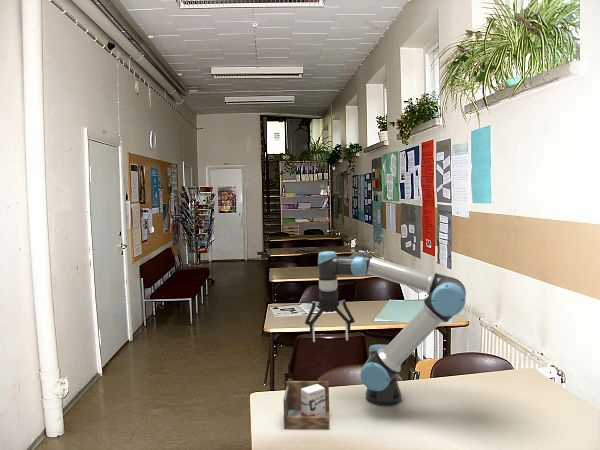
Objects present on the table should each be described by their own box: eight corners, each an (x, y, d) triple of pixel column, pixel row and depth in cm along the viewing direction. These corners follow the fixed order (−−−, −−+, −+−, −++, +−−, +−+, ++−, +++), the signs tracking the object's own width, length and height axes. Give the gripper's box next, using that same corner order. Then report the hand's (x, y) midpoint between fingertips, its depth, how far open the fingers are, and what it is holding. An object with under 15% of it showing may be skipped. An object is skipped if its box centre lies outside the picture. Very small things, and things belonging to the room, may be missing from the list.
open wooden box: (329, 413, 204) (328, 381, 203) (329, 429, 191) (328, 394, 190) (287, 413, 205) (286, 381, 204) (284, 428, 192) (283, 394, 191)
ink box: (308, 422, 194) (307, 392, 193) (300, 417, 198) (300, 388, 197) (326, 416, 198) (325, 387, 197) (318, 412, 202) (317, 383, 202)
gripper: (357, 286, 211) (359, 336, 212) (298, 288, 211) (300, 338, 213) (359, 289, 204) (361, 341, 205) (297, 292, 204) (300, 344, 205)
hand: (330, 340), depth 209 cm, fingers open, 13 cm apart
